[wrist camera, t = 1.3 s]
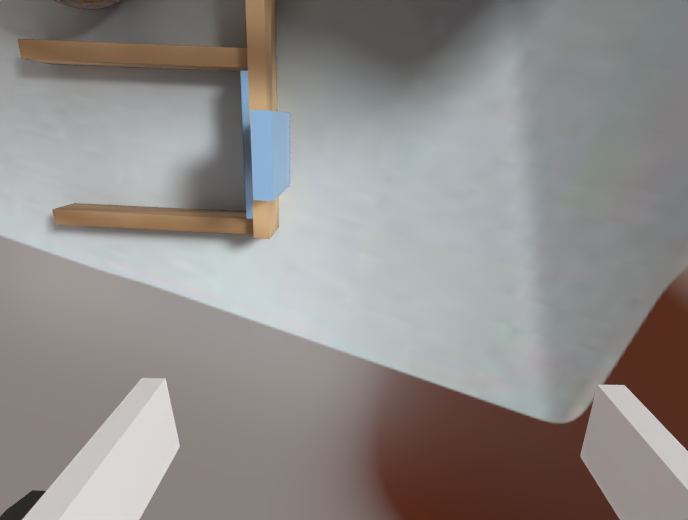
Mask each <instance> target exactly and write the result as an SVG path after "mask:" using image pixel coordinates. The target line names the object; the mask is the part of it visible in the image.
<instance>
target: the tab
mask: <svg viewBox="0 0 688 520" xmlns="http://www.w3.org/2000/svg"><path fill="white" fill-rule="evenodd" d="M250 125H251V154H252V183H253V200H261V201H274V200H275V199H276V198H277V197H278V196H279V195H281V194H282V193H283V192H284V191H285V190H286V189H287V188H288V187H289V186H290V113H286V112H278V111H268V110H250Z"/></svg>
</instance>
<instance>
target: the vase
mask: <svg viewBox="0 0 688 520" xmlns="http://www.w3.org/2000/svg"><path fill="white" fill-rule="evenodd" d="M55 1H57V2H60V3H62V4H65V5H68V6H72V7H76V8H81V9H99V8H104V7H108V6H110V5H112V4H114V3H116V2H118V1H119V0H55Z"/></svg>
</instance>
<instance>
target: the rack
mask: <svg viewBox="0 0 688 520" xmlns="http://www.w3.org/2000/svg"><path fill="white" fill-rule="evenodd" d="M245 4H246V32H247V48H237V47H211V46H186V45H161V44H136V43H110V42H85V41H60V40H35V39H18V43H19V48H20V53H21V58H22V59H27V60H33V61H38V62H43V63H49V64H74V65H98V66H122V67H147V68H171V69H196V70H220V71H240V74H241V99H242V123H243V148H244V172H245V197H246V212H240V211H220V210H200V209H179V208H159V207H138V206H118V205H98V204H77V203H74V204H70V205H67V206H63V207H60V208H56V209H53V214H54V219H55V224H56V225H75V226H94V227H114V228H134V229H154V230H174V231H194V232H214V233H234V234H253V235H254V238H259V239H270V238H271V236H272V235H273V234H274V233H275V231H276V230H277V229H278V227H279V224H278V197H277V198H276V199H275V200H274V201H261V200H253V183H252V154H251V125H250V110H268V111H277V78H276V6H275V0H245Z"/></svg>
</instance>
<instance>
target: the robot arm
mask: <svg viewBox="0 0 688 520" xmlns="http://www.w3.org/2000/svg"><path fill="white" fill-rule="evenodd" d="M179 447H180V445H179V440H178V435H177V431H176V426H175V421H174V416H173V411H172V407H171V402H170V397H169V393H168V388H167V383H166V379H165V378H141V380H140V381H139V382H138V383H137V384H136V385H135V387H134V388H133V389H132V390H131V391H130V393H129V394H128V395H127V396H126V397H125V399H124V400H123V401H122V402H121V403H120V404H119V406H118V407H117V408H116V409H115V410H114V412H113V413H112V414H111V415H110V416H109V417H108V419H107V420H106V421H105V422H104V423H103V425H102V426H101V427H100V428H99V429H98V431H97V432H96V433H95V434H94V435H93V436H92V438H91V439H90V440H89V441H88V442H87V444H86V445H85V446H84V447H83V448H82V449H81V451H80V452H79V453H78V454H77V455H76V457H75V458H74V459H73V460H72V461H71V463H70V464H69V465H68V466H67V467H66V468H65V470H64V471H63V472H62V473H61V474H60V476H59V477H58V478H57V479H56V480H55V481H54V483H53V484H52V485H51V486H50V487H49V488H48V490H47V491H31V492H30V493H29V494H27V495H26V496H25V497H23V498H22V499H21V500H19V501H18V502H17V503H16V504H14V505H13V506H11V507H10V508H9V509H7V510H6V511H5V512H4V513H3V514H2V516H1V517H0V520H139V519H140V517H141V515H142V514H143V512H144V510H145V508H146V506H147V505H148V503H149V501H150V499H151V497H152V496H153V494H154V492H155V490H156V488H157V487H158V485H159V483H160V481H161V479H162V477H163V476H164V474H165V472H166V470H167V468H168V467H169V465H170V463H171V461H172V459H173V458H174V456H175V454H176V452H177V451H178V449H179ZM580 457H581V458H582V460H583V461H584V463H585V465H586V466H587V467H588V469H589V471H590V472H591V474H592V475H593V477H594V479H595V480H596V482H597V484H598V485H599V487H600V488H601V490H602V492H603V493H604V495H605V496H606V498H607V500H608V501H609V503H610V504H611V506H612V507H613V509H614V511H615V512H616V514H617V515H618V517H619V519H620V520H688V451H687V450H686V449H685V448H684V447H683V446H682V445H681V444H680V443H679V442H678V441H677V440H676V439H675V438H674V437H673V436H672V435H671V434H670V432H668V430H666V428H665V427H664V426H663V425H662V424H661V423H660V422H659V421H658V420H657V419H656V418H655V417H654V416H653V415H652V414H651V413H650V412H649V411H648V409H647V408H646V407H645V406H644V405H643V404H642V403H641V402H640V401H639V400H638V399H637V398H636V397H635V396H634V395H633V394H632V393H631V392H630V391H629V390H628V388H627V387H625V385H597V389H596V393H595V398H594V402H593V406H592V410H591V414H590V418H589V423H588V427H587V431H586V435H585V439H584V443H583V447H582V452H581V455H580Z"/></svg>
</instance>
